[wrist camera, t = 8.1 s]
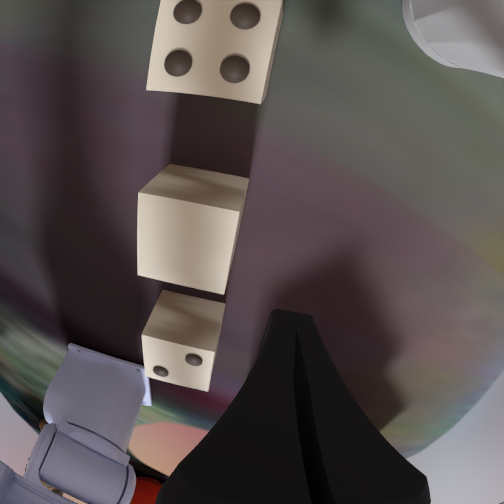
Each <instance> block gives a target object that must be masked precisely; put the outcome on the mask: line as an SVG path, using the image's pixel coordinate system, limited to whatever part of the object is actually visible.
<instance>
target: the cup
mask: <svg viewBox="0 0 504 504" xmlns="http://www.w3.org/2000/svg"><path fill="white" fill-rule="evenodd" d="M402 13H403V18H404V21H405V24H406V27H407V29H408V31H409V33H410V35H411V36H412V38H413V40H414V41H415V42H416V44H417V45H418V46H419V47H420V48H421V49H422V50H423V51H424V52H425V53H426V54H427V55H428V56H429V57H431V58H432V59H434V60H435V61H437V62H439V63H441V64H443V65H446V66H449V67H454V68H466V69H470V70H475V71H479V72H483V73H487V74H491V75H494V76H498V77H502V78H504V0H402Z"/></svg>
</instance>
